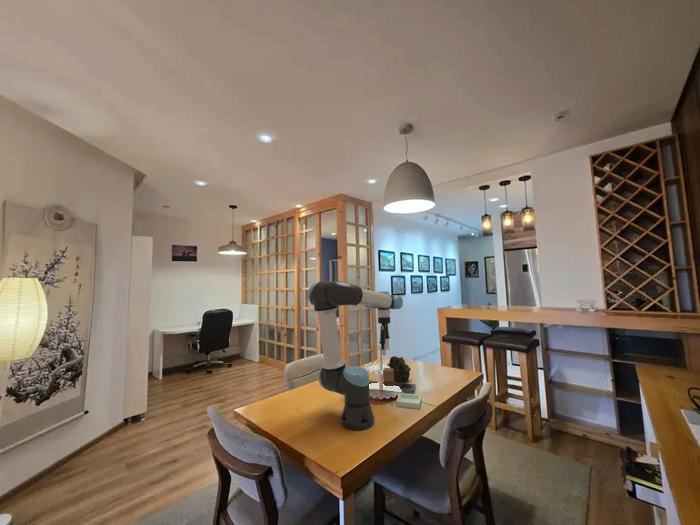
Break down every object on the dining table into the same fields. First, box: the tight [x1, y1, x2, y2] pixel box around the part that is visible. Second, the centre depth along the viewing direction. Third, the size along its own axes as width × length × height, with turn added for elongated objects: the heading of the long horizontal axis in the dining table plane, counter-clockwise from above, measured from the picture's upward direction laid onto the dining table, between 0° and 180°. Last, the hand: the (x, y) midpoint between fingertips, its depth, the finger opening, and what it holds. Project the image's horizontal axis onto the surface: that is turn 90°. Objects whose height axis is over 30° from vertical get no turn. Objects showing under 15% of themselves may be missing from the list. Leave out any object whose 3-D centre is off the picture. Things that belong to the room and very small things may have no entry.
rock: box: [387, 355, 411, 383], centre depth 183 cm, size 12×9×15 cm
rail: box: [369, 379, 417, 394], centre depth 169 cm, size 10×30×2 cm, turn 71°
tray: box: [395, 393, 423, 410], centre depth 147 cm, size 12×12×3 cm
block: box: [382, 367, 394, 386], centre depth 169 cm, size 6×6×11 cm
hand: (385, 352), depth 171 cm, fingers open, 13 cm apart
